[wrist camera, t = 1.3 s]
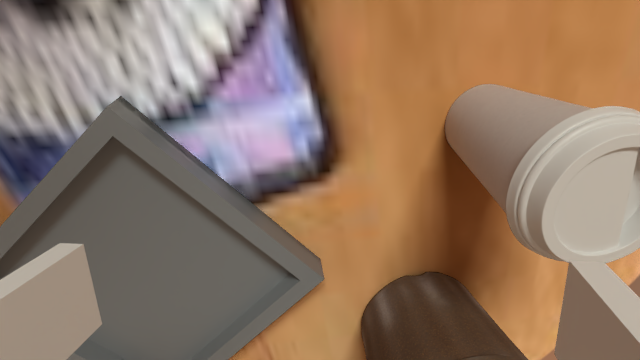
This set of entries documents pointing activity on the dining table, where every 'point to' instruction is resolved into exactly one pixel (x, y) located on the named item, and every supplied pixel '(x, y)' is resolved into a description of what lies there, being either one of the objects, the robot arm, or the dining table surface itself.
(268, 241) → the tray
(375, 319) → the plant pot
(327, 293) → the dining table surface
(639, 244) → the coffee cup
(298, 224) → the dining table surface
